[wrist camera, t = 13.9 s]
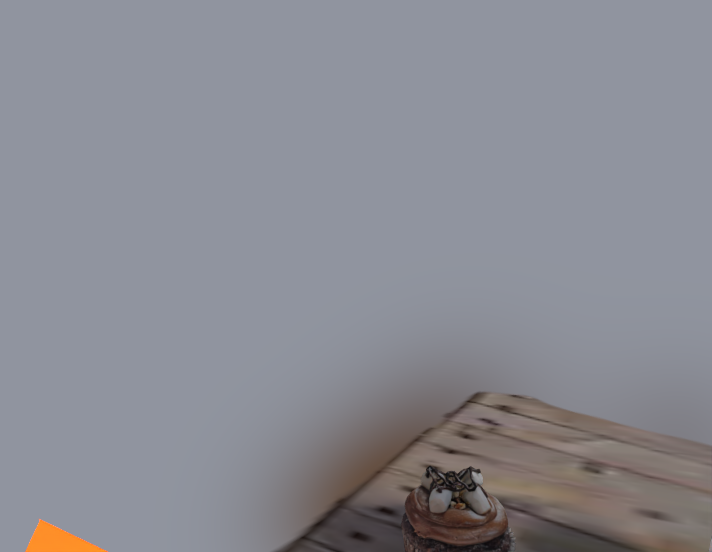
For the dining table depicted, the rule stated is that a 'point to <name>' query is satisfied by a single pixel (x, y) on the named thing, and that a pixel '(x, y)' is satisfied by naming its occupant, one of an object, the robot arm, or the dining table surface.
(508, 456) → the dining table surface
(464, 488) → the cupcake
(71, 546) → the orange juice
